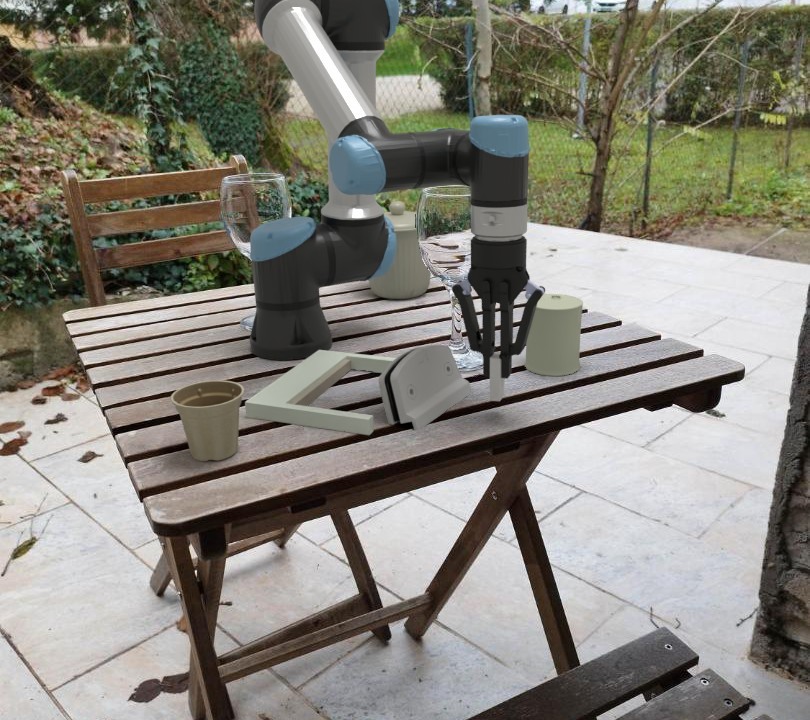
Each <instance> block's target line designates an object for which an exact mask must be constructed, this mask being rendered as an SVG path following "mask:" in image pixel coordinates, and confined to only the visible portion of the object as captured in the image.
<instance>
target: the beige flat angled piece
mask: <svg viewBox="0 0 810 720" xmlns="http://www.w3.org/2000/svg"><path fill="white" fill-rule="evenodd" d="M396 358H397V357H389V356H388V357H387V356H382V355H371V354H363V353H362V354H361V353H354V352H353V353H352V352H343V351H336V350H335V351H333V350H327V351H326V350H318V351H317V352H315V353H314V354H312V355H311V356H310V357H307V358H304V360H303V361H301V362H300V363H298V364H297V365H295V366H294V367H292V368H291V369H290V370H288V371H287V372H285V373H284V374H283V375H281V376H280V377H278V378H277V379H276V380H274V381H273V382H271V383H269V384H268V385H267V386H265V387H264V388H263V389H261V390H260V391H259V392H257V393H256V394H254V395H253V396H252V397H250V398H248V399H247V400H246V401H244V409H245V415H246V416H245V417H246V418H251V419H256V420H257V419H258V420H264V421H265V420H266V421H270V422H271V421H272V422H278V423H285V424H291V425H296V426H297V425H298V426H304V427H311V428H318V429H325V430H330V431H337V432H344V431H345V433H353V434H357V433H358V434H359V435H365V436H370V435H371V434H372V433H373V432H374V416H373V415H372V414H367V413H359V412H358V413H357V412H351V411H344V410H343V411H342V410H338V409H337V410H336V409H330V408H323V407H315V406H309V405H310V404H312V403H313V402H314V401H315V400H316V399H318V398H319V397H320V396H321V395H323V394H324V393H325V392H326V391H327V390H329V389H330V388H331V387H332V386H333V385H334V384H336V383H337V382H338V381H339V380H341V379H342V378H343V377H344V376H346V375H347V374H348V373H349V372H350V371H352V370H351V369H356V370H355V371H360V370H366V371H365V372H368V371H373V372H372V373H377V374H378V373H379V374H382V372H383V371H384V370H385V368H386V367H387V366H388V365H389V364H390V363H391V362H392V361H393V360H394V359H396ZM357 369H358V370H357ZM349 370H350V371H349ZM348 371H349V372H348ZM347 372H348V373H347ZM346 373H347V374H346ZM345 374H346V375H345ZM343 375H344V376H343ZM342 376H343V377H342ZM341 377H342V378H341ZM340 378H341V379H340ZM307 405H308V406H307Z"/></svg>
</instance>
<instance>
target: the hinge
mask: <svg viewBox="0 0 810 720" xmlns="http://www.w3.org/2000/svg"><path fill="white" fill-rule="evenodd" d="M395 358H396V359H394V360H393V361H392V362H391V363H390V364H389V365H388V366H387V367H386V368H385V370H384V371H383V372H382V373H380V375H379V377H378V379H377V382H378V387H379V391H380V396H381V399H382V403H383V408H384V411H385V415H386V420H387V424H388V423H389V424H388V425H390V424H391V426H392V425H393V426H394V425H395V424H397V423H398V422H399V423H400V424H406V423H412V426H413V429H414V431H416V432H418V431H419V432H420V430H422V429H423V428H424V427H426V426H427V425H429V424H431V422H434V420H436V419H437V418H438V417H440V416H441V415H442V414H443V415H444V413H445V412H444V411H446V410H447V409H448V410H450V409H451V408H452V406H453V405H454V406H456V405H457V404H458V403H460V402H462V401H463V400H464V399H465V397H466V396H467V397H469V396H470V395H471V394H473V393H472V392H473V390H472V386H471V384H470V381H468V380H467V379H465V378H464V377H462V375H461V372H460V369H459V367H458V365H457V362H456V360H455V357H454V355H453V353H452V350H451V348H450V347H449V346H448V345H444V344H430V345H424V346H418V347H415V348H412V349H410V350H407V351H405V352H404V353H402V354H400V355H398V356H397V357H395ZM469 394H470V395H469ZM467 397H466V398H467ZM455 404H456V405H455ZM454 406H453V407H454ZM450 407H451V408H450ZM449 408H450V409H449ZM448 410H447V411H448ZM447 411H446V412H447Z"/></svg>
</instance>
